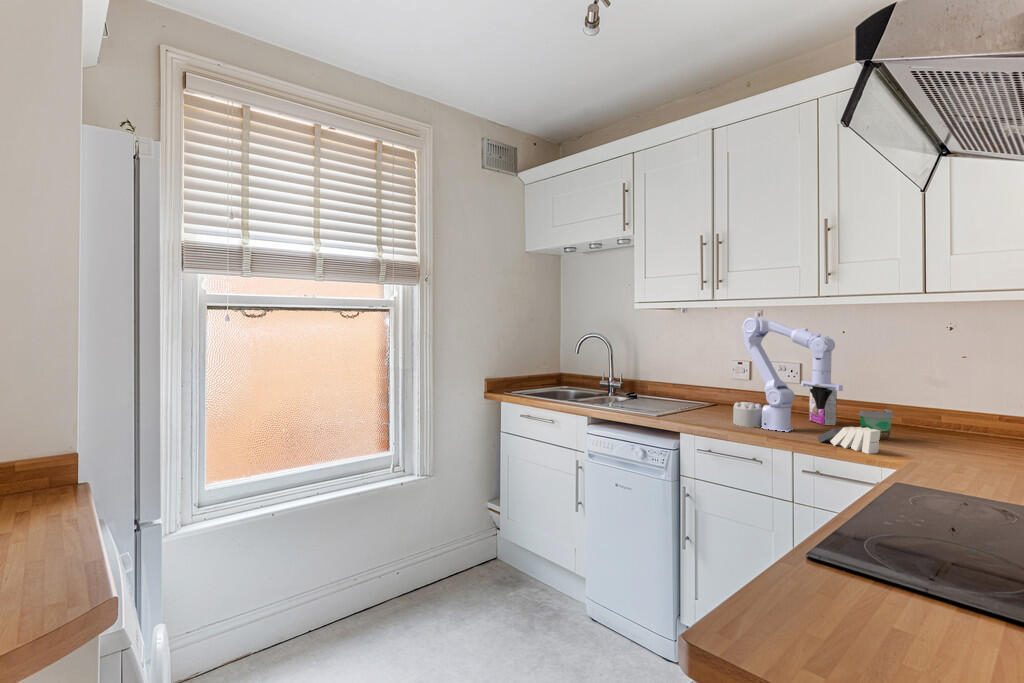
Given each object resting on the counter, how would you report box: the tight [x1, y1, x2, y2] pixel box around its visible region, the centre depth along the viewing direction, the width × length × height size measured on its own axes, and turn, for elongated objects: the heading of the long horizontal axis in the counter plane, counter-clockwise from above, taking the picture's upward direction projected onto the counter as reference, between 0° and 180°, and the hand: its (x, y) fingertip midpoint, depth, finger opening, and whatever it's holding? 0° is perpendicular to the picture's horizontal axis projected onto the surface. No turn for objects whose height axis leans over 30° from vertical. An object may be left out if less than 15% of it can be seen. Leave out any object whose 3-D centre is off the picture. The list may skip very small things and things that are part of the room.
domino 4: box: [861, 429, 880, 455], centre depth 158 cm, size 2×4×7 cm, turn 111°
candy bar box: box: [808, 386, 838, 426], centre depth 206 cm, size 11×5×16 cm, turn 179°
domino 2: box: [839, 426, 862, 449], centre depth 163 cm, size 2×4×7 cm
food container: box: [858, 408, 895, 441], centre depth 177 cm, size 12×6×10 cm, turn 105°
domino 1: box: [829, 426, 854, 447], centre depth 166 cm, size 2×4×7 cm
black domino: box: [816, 427, 844, 443], centre depth 170 cm, size 2×4×7 cm
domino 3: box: [850, 427, 870, 452], centre depth 160 cm, size 2×4×7 cm, turn 111°
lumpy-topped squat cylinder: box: [732, 401, 763, 428], centre depth 202 cm, size 10×13×9 cm
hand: (820, 408), depth 180 cm, fingers closed
